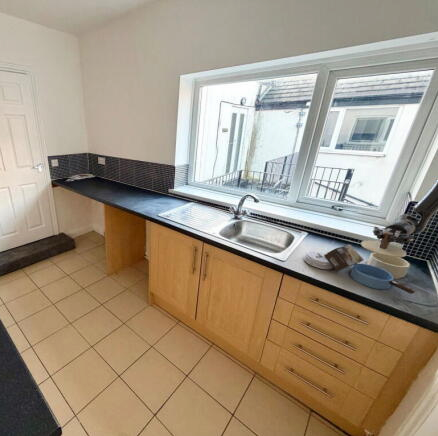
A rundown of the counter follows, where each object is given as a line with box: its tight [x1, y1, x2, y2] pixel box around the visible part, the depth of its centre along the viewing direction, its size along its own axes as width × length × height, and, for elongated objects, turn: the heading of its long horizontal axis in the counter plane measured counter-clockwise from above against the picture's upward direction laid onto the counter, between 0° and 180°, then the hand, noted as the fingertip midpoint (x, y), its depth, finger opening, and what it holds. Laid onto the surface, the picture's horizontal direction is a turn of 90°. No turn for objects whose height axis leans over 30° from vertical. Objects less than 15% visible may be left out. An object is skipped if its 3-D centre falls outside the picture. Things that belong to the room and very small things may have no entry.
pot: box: [366, 252, 411, 280], centre depth 116 cm, size 14×14×6 cm
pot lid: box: [360, 232, 407, 258], centre depth 104 cm, size 15×15×8 cm
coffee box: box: [324, 243, 364, 273], centre depth 116 cm, size 9×6×16 cm
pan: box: [350, 263, 415, 294], centre depth 106 cm, size 21×14×4 cm, turn 22°
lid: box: [303, 250, 334, 270], centre depth 122 cm, size 13×13×5 cm
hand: (384, 238), depth 102 cm, fingers closed on pot lid, 3 cm apart
